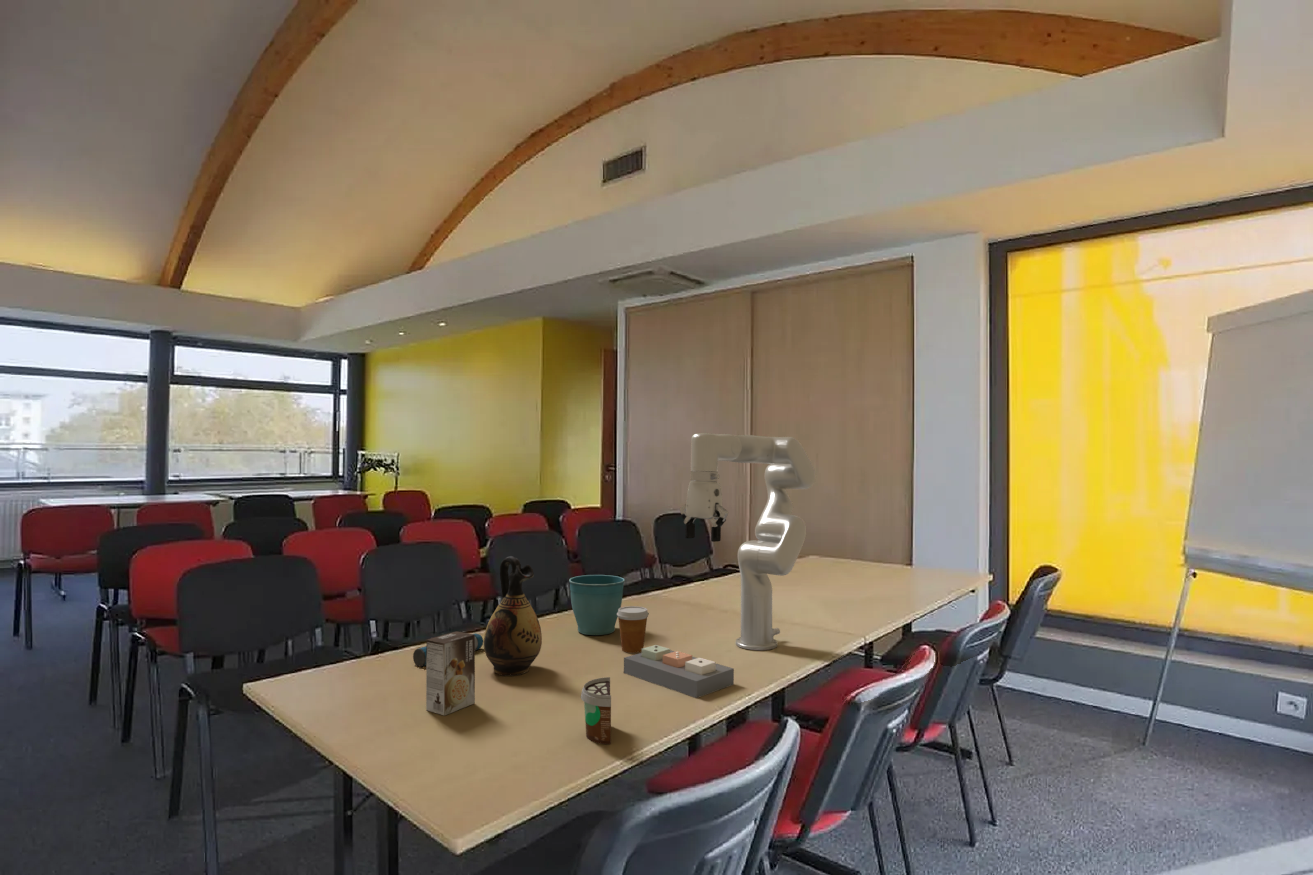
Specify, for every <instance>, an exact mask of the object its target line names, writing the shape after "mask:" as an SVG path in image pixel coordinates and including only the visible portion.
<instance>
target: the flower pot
mask: <svg viewBox="0 0 1313 875" xmlns="http://www.w3.org/2000/svg"><path fill="white" fill-rule="evenodd" d="M568 582H569V588H570V589H569V590H570V602H571V608H572V612H573V615H574V618H575V621H576V625H577V631H578V633H580V634H582V635H587V636H588V635H589V636H603V635H609V634H612V633H614V632H615V630H616V623H617V620H618V616H617V613H618V609H619V608H622V605H623V604H622V603H623V593H624V585H625V578H623V577H620V576H616V575H605V574H586V575H578V576H574V577H570V578H569V580H568Z"/></svg>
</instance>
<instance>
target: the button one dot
mask: <svg viewBox="0 0 1313 875" xmlns="http://www.w3.org/2000/svg"><path fill="white" fill-rule="evenodd" d="M716 664H717V663H716V661H713V660H710V659H705V658H703V657H696V659H693V660H690V661H687V662H685V671H689V672H692V673H695V674H698V675H704V674H707V673H710V672H713V671H716Z"/></svg>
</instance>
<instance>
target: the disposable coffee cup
mask: <svg viewBox="0 0 1313 875" xmlns="http://www.w3.org/2000/svg"><path fill="white" fill-rule="evenodd" d="M649 613H650V612H648V608H646V607H643V606H638V605H637V606H633V605H632V606H631V605H630V606H623V607H622V606H621V608H619V609H618V613H617V616H618V617H617V620H618V628H619V636H620V642H621V643H620V644H621V645H620V646H621V652H623V653H628V654H639V653H642V649H643V648H645V647H644V644H645V638H646V630H647V629H646V628H647V622H648V618H649V615H650V614H649Z"/></svg>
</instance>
